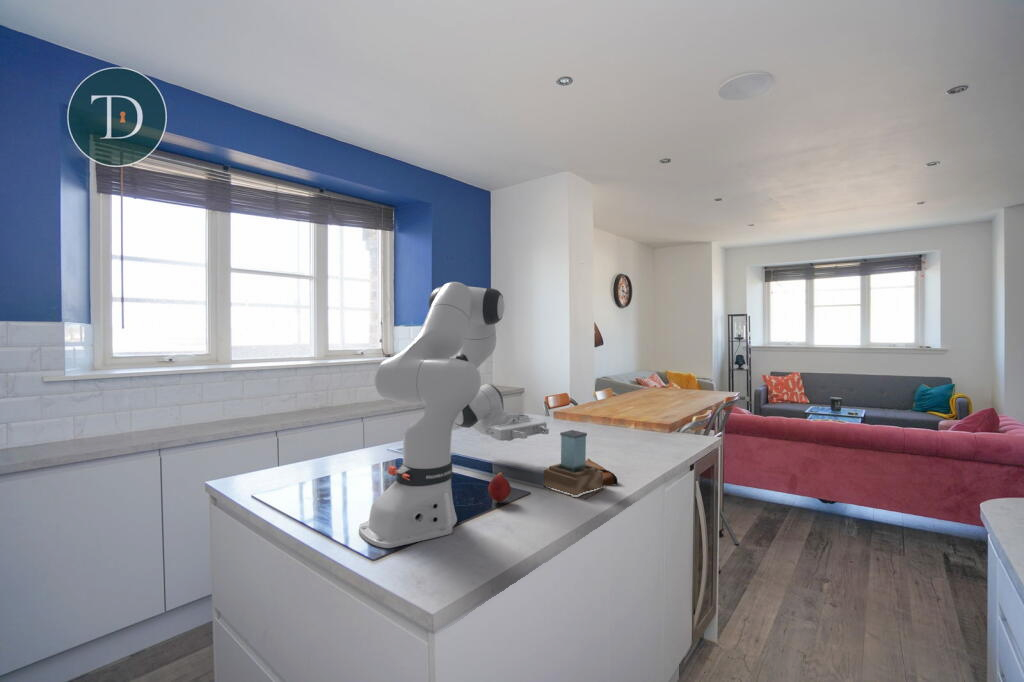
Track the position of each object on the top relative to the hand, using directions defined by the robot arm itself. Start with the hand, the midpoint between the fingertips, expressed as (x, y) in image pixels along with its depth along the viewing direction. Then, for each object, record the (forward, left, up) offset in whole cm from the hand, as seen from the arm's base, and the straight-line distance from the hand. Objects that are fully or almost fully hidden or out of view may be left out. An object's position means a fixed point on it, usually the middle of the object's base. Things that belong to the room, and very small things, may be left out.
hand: (536, 433), depth 147 cm
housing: (+1, -14, -8) cm, 17 cm away
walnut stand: (+1, -14, -13) cm, 20 cm away
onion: (-23, -9, -14) cm, 29 cm away
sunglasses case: (+13, -12, -14) cm, 22 cm away
